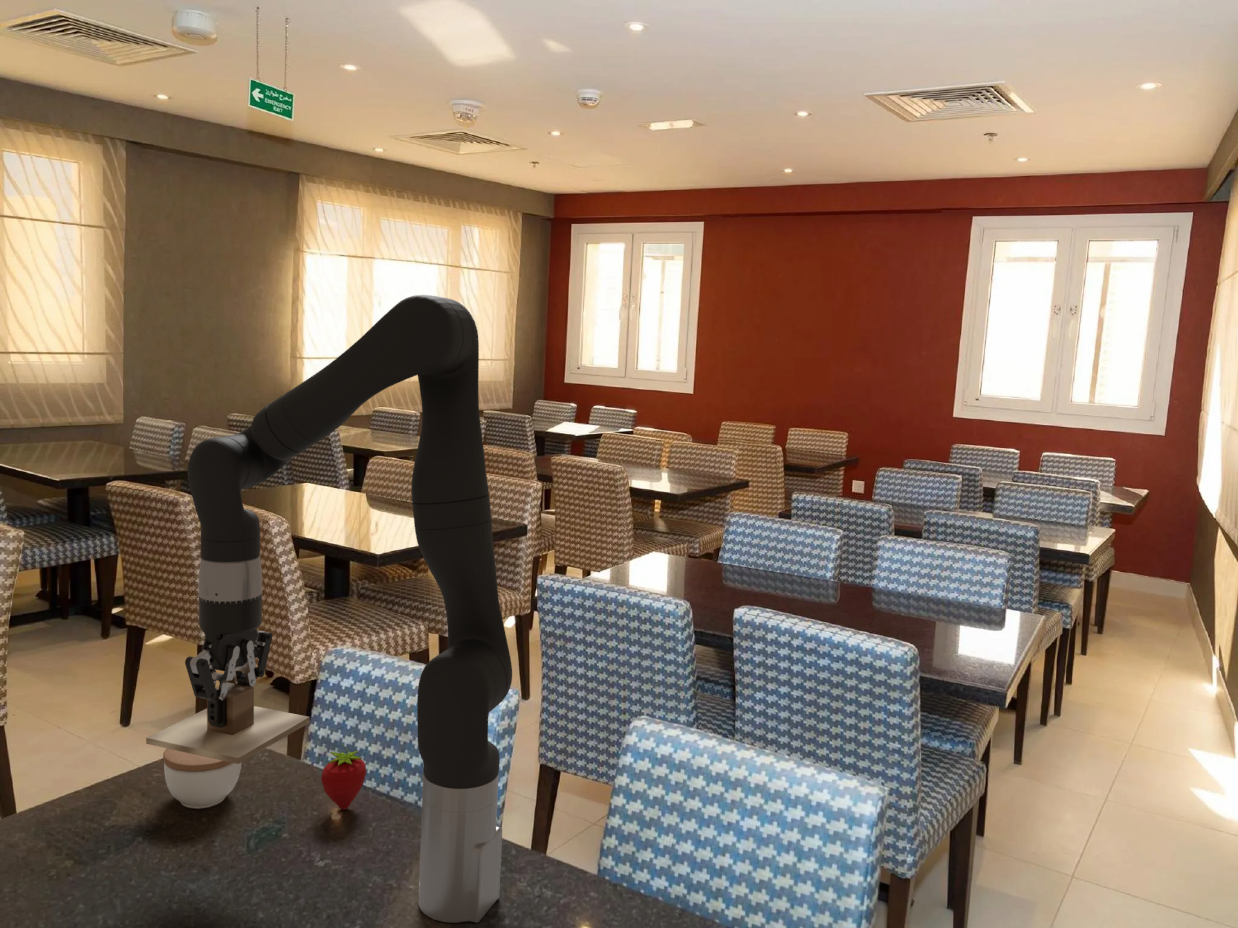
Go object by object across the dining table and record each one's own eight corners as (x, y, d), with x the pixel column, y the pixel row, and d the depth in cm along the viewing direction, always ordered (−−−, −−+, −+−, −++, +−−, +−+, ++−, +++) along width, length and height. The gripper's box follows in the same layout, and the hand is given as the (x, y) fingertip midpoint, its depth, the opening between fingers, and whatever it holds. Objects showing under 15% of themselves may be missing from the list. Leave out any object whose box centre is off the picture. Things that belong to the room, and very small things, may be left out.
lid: (309, 722, 131) (309, 681, 130) (238, 763, 118) (238, 718, 117) (224, 705, 135) (224, 665, 135) (146, 743, 122) (145, 699, 121)
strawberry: (310, 816, 140) (312, 751, 139) (339, 793, 147) (341, 731, 146) (347, 824, 139) (348, 758, 137) (374, 801, 146) (376, 737, 145)
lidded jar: (187, 824, 136) (187, 761, 135) (149, 798, 143) (148, 738, 141) (256, 798, 145) (257, 738, 143) (217, 775, 151) (217, 717, 150)
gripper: (215, 608, 116) (215, 745, 118) (290, 582, 130) (289, 705, 132) (164, 600, 119) (166, 734, 121) (244, 575, 132) (244, 696, 134)
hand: (230, 718), depth 126 cm, fingers closed on lid, 4 cm apart
